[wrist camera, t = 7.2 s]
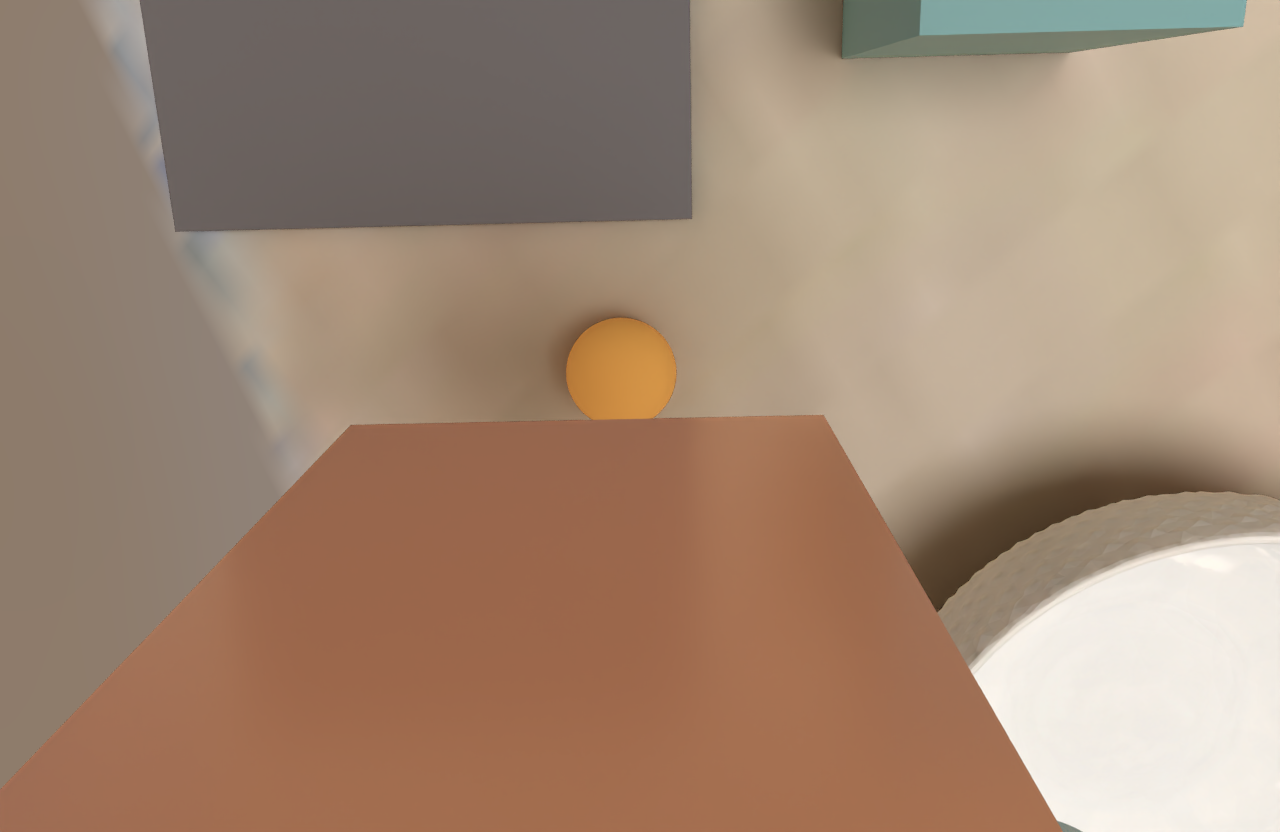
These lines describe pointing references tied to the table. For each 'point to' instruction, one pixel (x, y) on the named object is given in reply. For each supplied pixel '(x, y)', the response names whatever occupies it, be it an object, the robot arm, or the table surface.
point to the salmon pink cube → (547, 653)
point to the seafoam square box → (1022, 25)
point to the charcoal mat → (421, 111)
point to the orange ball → (621, 370)
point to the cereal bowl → (1138, 661)
